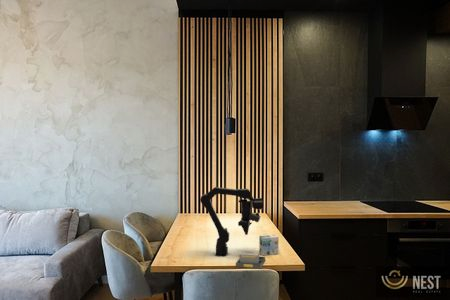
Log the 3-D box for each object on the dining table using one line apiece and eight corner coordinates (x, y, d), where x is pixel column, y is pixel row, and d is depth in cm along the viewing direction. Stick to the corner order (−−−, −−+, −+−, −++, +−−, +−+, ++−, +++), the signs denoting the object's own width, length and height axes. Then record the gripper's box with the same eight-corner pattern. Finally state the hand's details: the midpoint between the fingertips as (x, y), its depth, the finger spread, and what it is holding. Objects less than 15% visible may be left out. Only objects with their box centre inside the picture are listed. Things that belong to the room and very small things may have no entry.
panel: (239, 265, 202) (239, 254, 202) (241, 263, 206) (241, 252, 206) (257, 266, 200) (257, 255, 200) (259, 264, 204) (258, 253, 204)
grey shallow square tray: (235, 266, 201) (235, 263, 201) (241, 258, 215) (241, 255, 215) (260, 268, 197) (260, 265, 197) (265, 260, 212) (265, 256, 212)
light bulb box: (262, 255, 221) (262, 237, 221) (259, 252, 228) (258, 235, 228) (279, 254, 224) (278, 236, 224) (275, 251, 230) (274, 234, 230)
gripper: (256, 212, 213) (256, 239, 213) (261, 207, 231) (262, 232, 231) (237, 211, 216) (238, 238, 216) (244, 206, 234) (244, 231, 234)
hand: (246, 234), depth 224 cm, fingers closed
